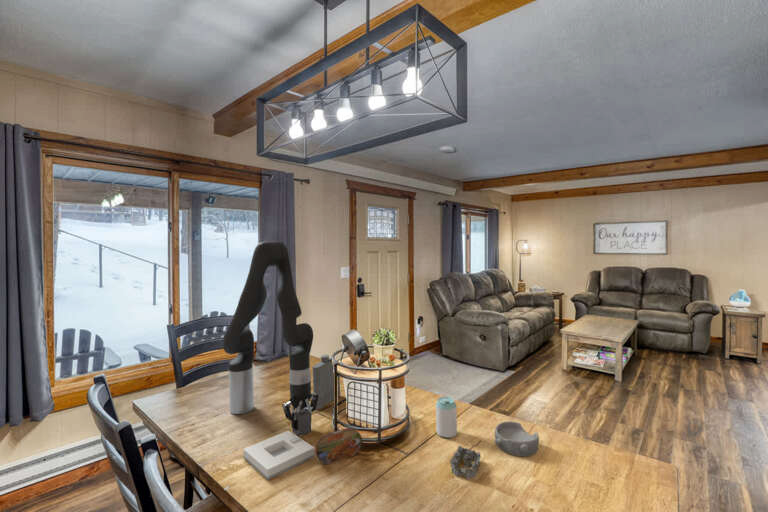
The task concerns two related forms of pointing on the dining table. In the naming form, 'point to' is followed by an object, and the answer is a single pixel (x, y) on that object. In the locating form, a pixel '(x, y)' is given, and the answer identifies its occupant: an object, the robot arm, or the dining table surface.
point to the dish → (515, 439)
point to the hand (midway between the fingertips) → (301, 426)
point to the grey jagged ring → (465, 462)
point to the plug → (303, 422)
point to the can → (446, 417)
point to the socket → (278, 454)
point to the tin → (338, 445)
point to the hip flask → (324, 381)
